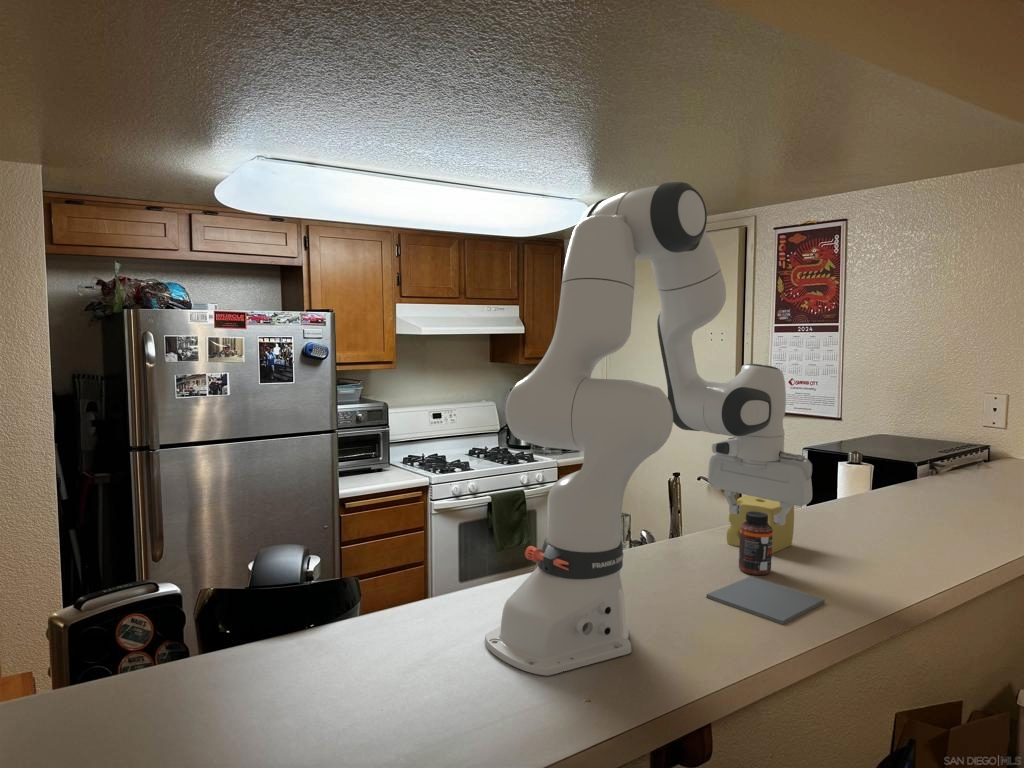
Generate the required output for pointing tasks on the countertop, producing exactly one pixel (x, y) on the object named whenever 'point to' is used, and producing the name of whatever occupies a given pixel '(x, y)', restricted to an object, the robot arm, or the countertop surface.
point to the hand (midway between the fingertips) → (756, 518)
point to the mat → (766, 599)
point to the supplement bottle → (755, 544)
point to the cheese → (771, 508)
